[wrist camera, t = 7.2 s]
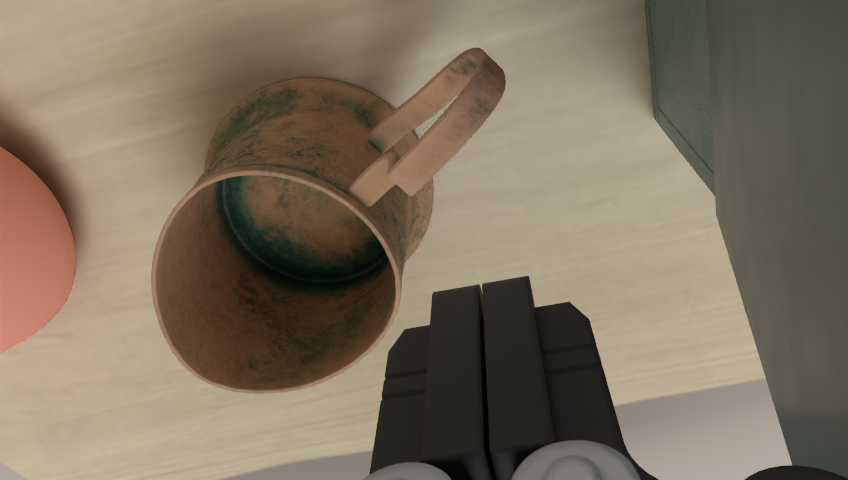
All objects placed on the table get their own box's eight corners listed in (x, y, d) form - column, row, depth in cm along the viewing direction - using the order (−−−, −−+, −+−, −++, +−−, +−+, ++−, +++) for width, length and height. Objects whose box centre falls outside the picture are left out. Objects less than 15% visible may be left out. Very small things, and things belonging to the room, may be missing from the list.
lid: (1046, -226, 5) (925, -197, 6) (916, 683, 11) (855, 677, 11) (730, -181, 19) (697, -172, 19) (741, 213, 24) (715, 215, 24)
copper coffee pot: (572, 102, 33) (625, 211, 22) (335, 324, 39) (288, 490, 29) (389, -82, 30) (348, -58, 19) (163, 193, 36) (38, 326, 25)
